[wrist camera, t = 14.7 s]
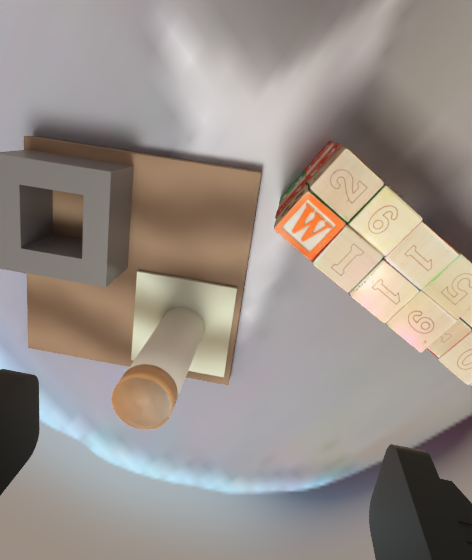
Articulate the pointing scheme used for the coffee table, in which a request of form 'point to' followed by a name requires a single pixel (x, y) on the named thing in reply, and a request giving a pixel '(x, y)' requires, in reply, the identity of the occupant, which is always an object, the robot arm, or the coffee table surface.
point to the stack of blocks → (381, 255)
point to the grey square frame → (39, 216)
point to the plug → (159, 371)
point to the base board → (153, 262)
